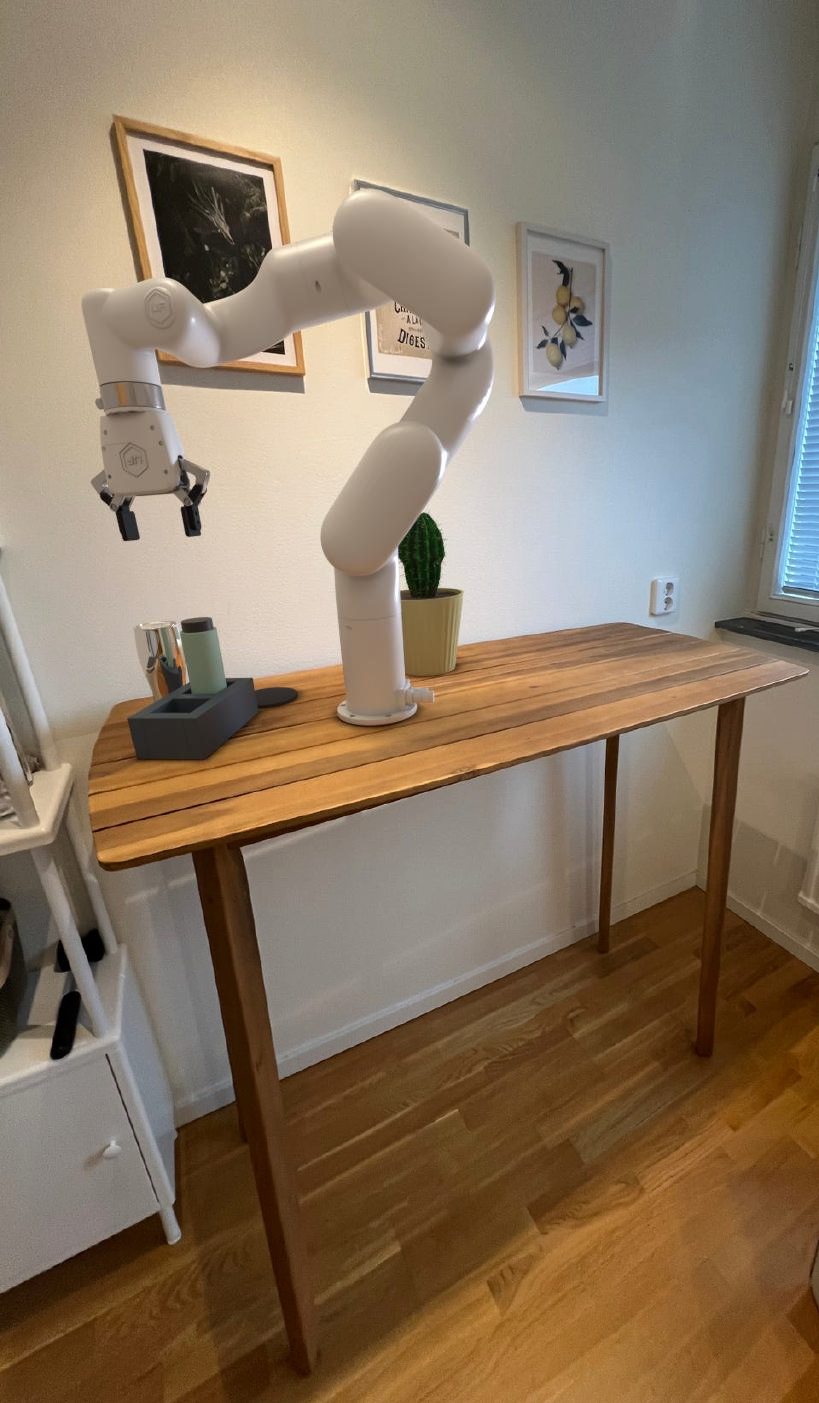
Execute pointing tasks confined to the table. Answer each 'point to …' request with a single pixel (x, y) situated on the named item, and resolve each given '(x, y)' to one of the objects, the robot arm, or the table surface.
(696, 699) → the table surface
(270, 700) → the coaster
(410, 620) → the potted cactus
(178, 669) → the chrome tumbler
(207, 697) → the holder
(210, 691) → the bottle
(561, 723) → the table surface
